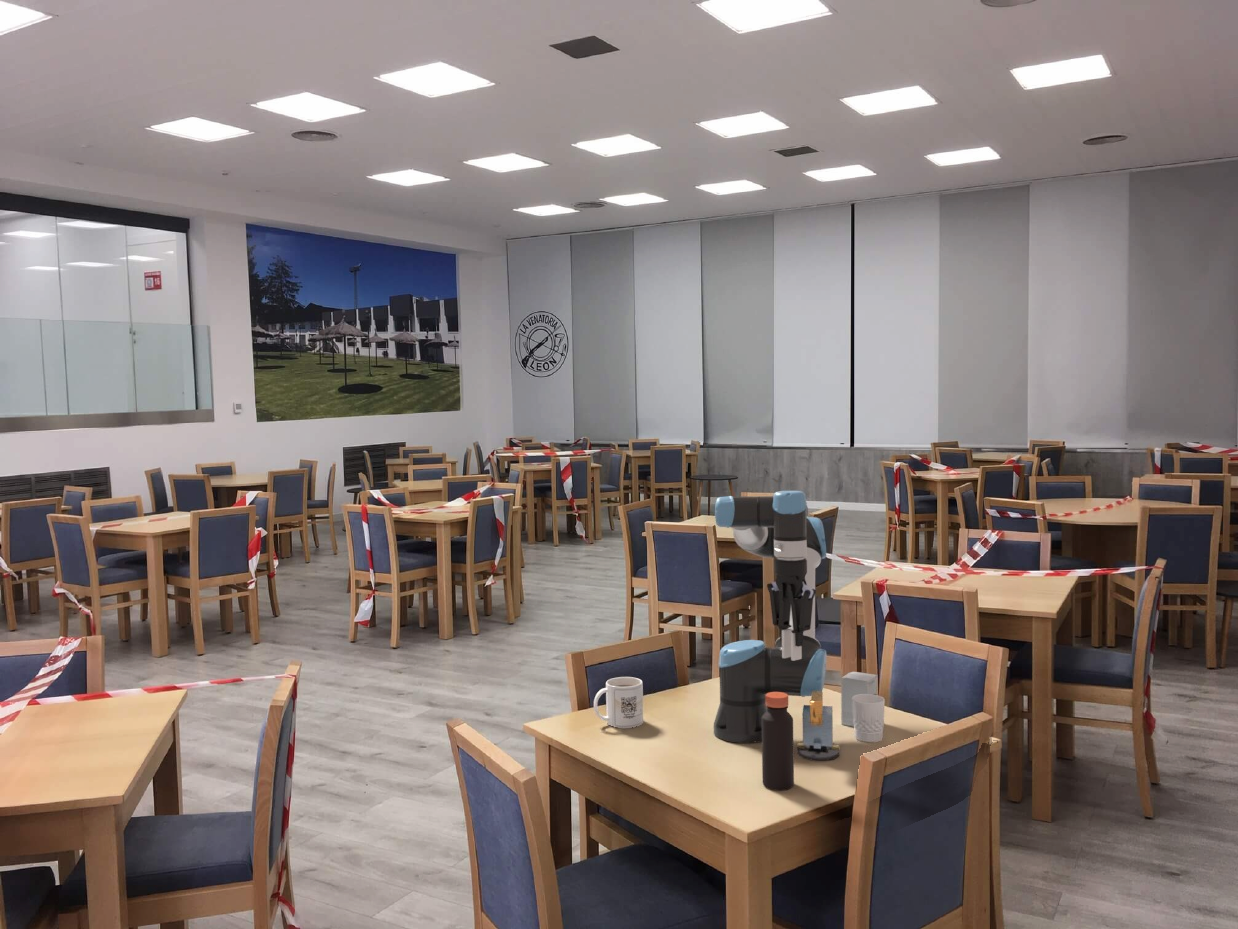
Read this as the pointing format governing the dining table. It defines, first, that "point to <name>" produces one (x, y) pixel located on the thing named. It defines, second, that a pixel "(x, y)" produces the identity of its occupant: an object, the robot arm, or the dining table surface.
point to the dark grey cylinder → (818, 752)
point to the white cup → (868, 717)
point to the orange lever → (817, 722)
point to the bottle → (777, 743)
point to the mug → (622, 702)
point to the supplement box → (855, 692)
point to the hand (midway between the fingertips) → (791, 658)
